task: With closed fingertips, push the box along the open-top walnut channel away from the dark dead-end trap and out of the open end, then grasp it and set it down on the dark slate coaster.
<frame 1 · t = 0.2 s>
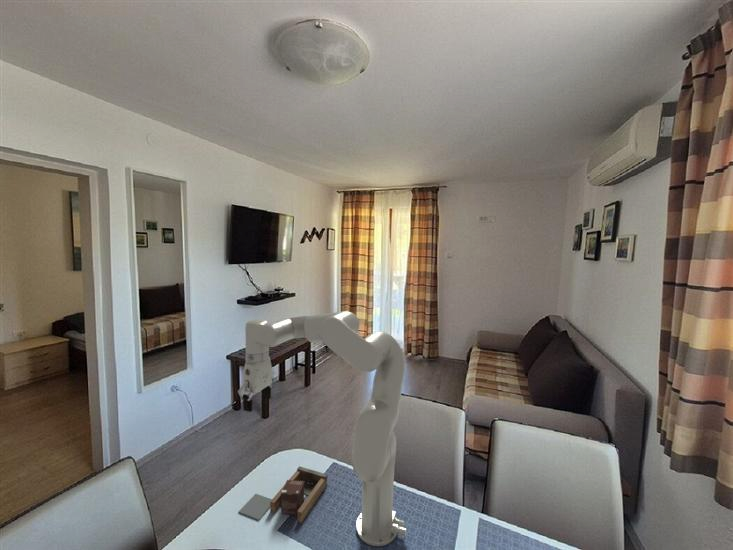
hand: (257, 404, 108), 31 cm above the table, fingers open, 9 cm apart
box: (292, 508, 102), on the table
pad: (257, 506, 102), on the table
channel: (296, 503, 104), on the table
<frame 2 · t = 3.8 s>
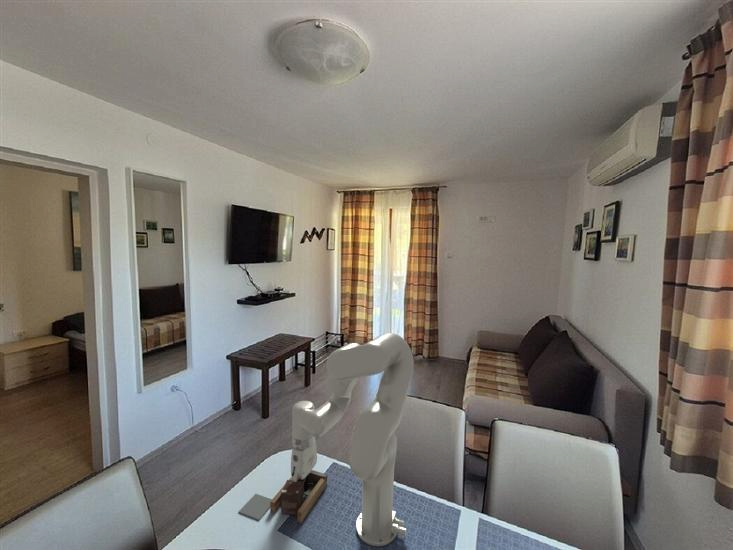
hand: (303, 489, 108), 2 cm above the table, fingers closed
box: (292, 508, 102), on the table, touching gripper
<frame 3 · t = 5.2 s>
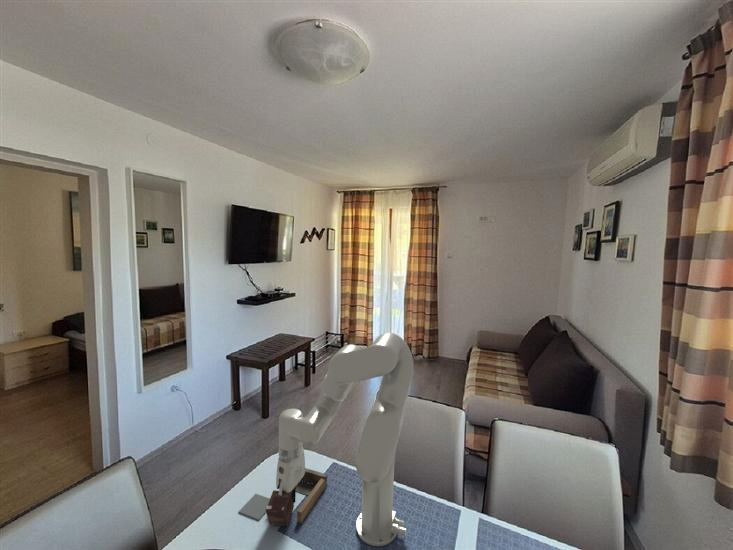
hand: (289, 502, 102), 2 cm above the table, fingers closed
box: (282, 515, 98), point 1 cm above the table, touching gripper
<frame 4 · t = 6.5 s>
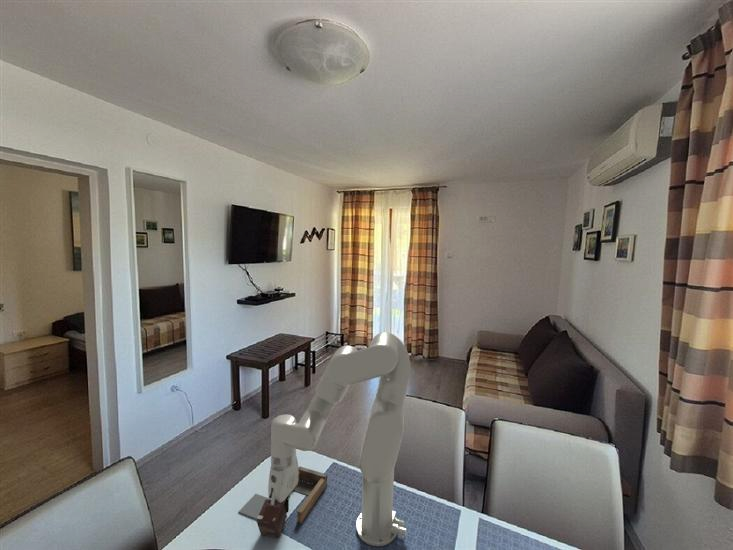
hand: (282, 512, 98), 2 cm above the table, fingers closed
box: (274, 526, 94), point 1 cm above the table, touching gripper
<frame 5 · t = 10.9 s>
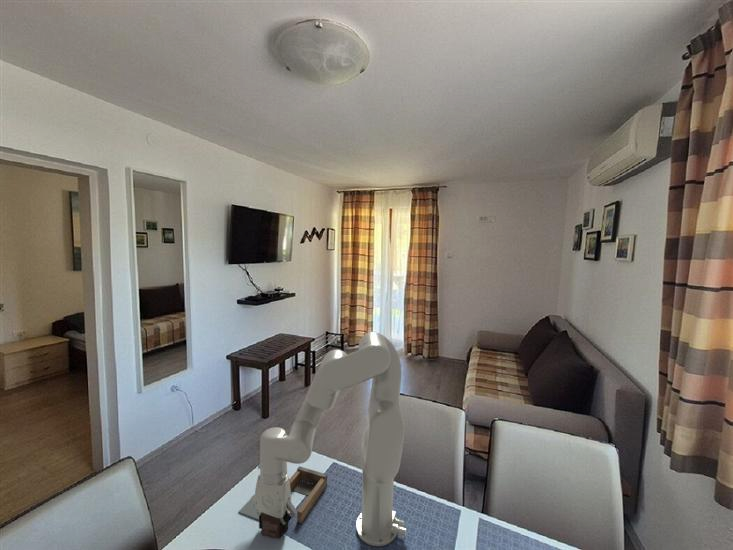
hand: (273, 528, 93), 1 cm above the table, fingers closed on box, 6 cm apart
box: (275, 529, 94), on the table, touching gripper
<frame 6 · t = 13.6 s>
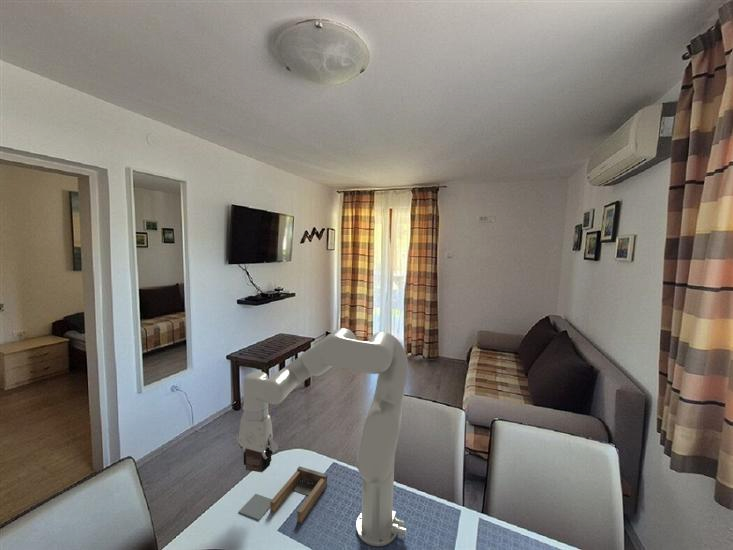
hand: (256, 464, 101), 15 cm above the table, fingers closed on box, 6 cm apart
box: (258, 466, 102), point 13 cm above the table, touching gripper
when the fingers open (3 cm above the table, at t = 16.1 s): box drops 1 cm, resting on pad.
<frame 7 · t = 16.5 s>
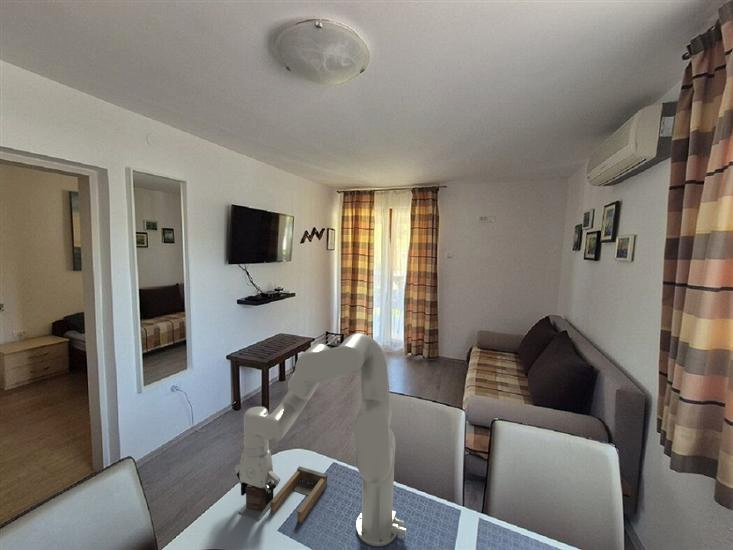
hand: (257, 496, 102), 3 cm above the table, fingers open, 9 cm apart
box: (259, 503, 103), resting on pad
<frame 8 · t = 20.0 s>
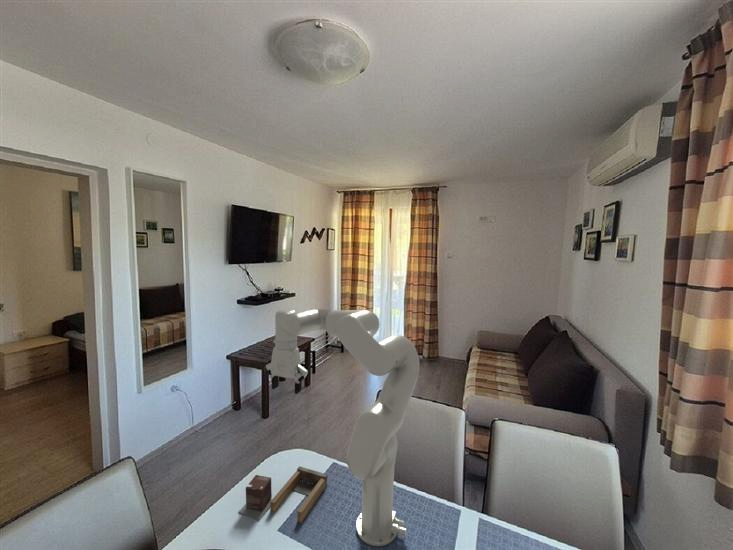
hand: (286, 390, 113), 33 cm above the table, fingers open, 9 cm apart
nothing on the table moved.
at the end: box inside the target area on the pad (1.1 cm from its centre), point 0.2 cm above the pad's base; box tilted 0°; the gripper is holding nothing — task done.
